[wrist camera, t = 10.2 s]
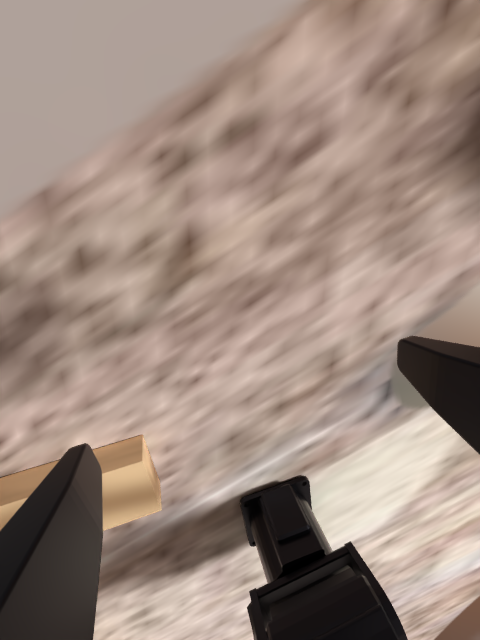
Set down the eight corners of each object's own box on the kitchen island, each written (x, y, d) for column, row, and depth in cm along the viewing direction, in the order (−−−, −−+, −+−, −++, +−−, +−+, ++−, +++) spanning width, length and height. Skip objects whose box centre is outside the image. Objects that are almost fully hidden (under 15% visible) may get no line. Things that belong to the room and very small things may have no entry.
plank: (160, 481, 25) (161, 510, 23) (-135, 580, 22) (-166, 624, 20) (142, 434, 23) (142, 461, 21) (-187, 534, 20) (-229, 579, 18)
